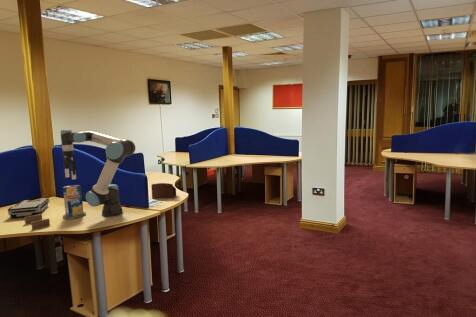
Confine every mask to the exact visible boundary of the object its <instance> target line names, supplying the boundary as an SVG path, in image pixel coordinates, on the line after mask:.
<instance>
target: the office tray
mask: <svg viewBox="0 0 476 317" xmlns="http://www.w3.org/2000/svg"><path fill="white" fill-rule="evenodd" d="M49 203H50V197H48V198H41V199H39V200H38V199H37V200H29V199H26V200H21V201H20V202H18V203H16V205H14V206H10V207H9V208H8V209H7V213H8V216H9V217H10V218H11V219H17V217H20V218H22V217H28V216H33V215H38V214H43V213H44V211H45V210H46V209H48V207H49Z"/></svg>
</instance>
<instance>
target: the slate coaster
mask: <svg viewBox="0 0 476 317" xmlns="http://www.w3.org/2000/svg"><path fill="white" fill-rule="evenodd" d="M83 212H84V214H80V215H75V216H71V217H68V216H66V213H65V214H63V215H62V219H64V220H73V219H74V220H76V219H80V218H83V217H85V216H86V215H87V213H86V212H85V211H83Z"/></svg>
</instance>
